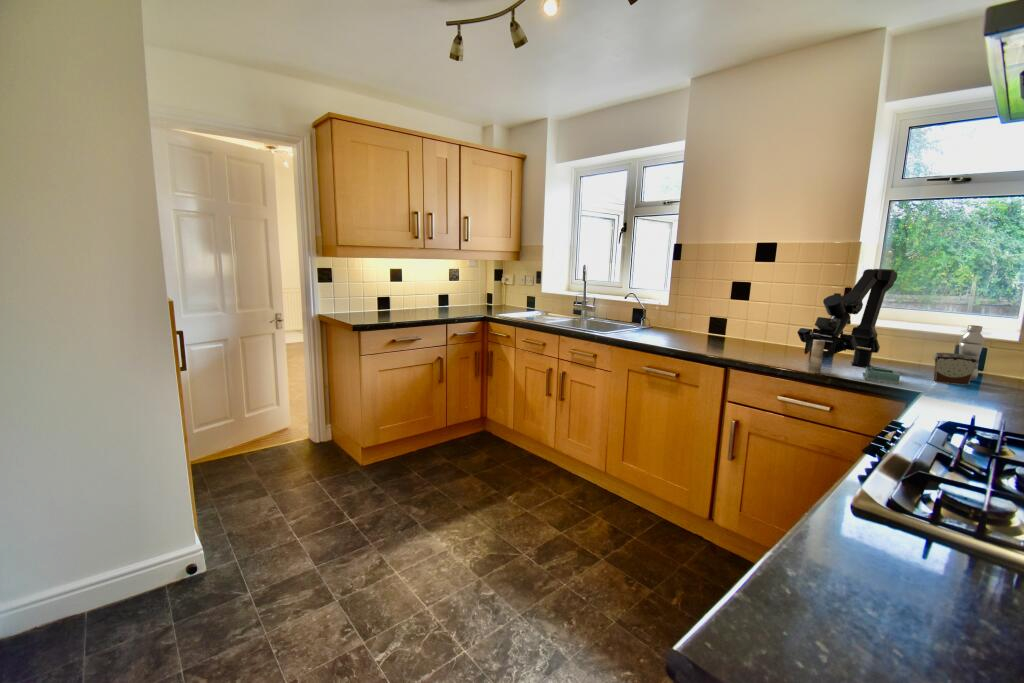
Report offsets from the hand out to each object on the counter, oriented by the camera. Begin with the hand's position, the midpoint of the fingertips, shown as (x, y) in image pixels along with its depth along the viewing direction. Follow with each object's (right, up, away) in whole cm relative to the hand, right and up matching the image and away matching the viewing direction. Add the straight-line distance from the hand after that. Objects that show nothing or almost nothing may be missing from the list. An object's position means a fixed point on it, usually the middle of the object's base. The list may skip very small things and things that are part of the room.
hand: (814, 355), depth 169 cm
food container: (+44, -10, -4) cm, 46 cm away
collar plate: (+20, -8, -5) cm, 22 cm away
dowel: (+1, -6, +2) cm, 7 cm away
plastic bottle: (+54, -9, -1) cm, 54 cm away
